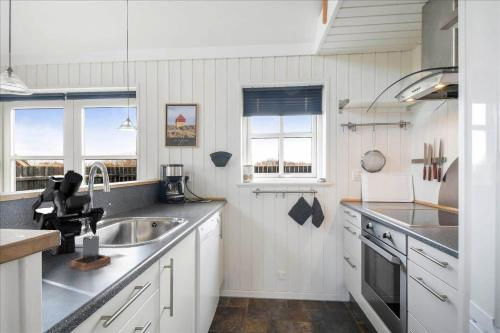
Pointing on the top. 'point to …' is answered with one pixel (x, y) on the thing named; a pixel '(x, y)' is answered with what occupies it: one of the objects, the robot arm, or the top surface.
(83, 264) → the wooden board with frame
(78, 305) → the top surface
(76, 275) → the top surface
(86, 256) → the dark grey cylinder
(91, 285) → the top surface
